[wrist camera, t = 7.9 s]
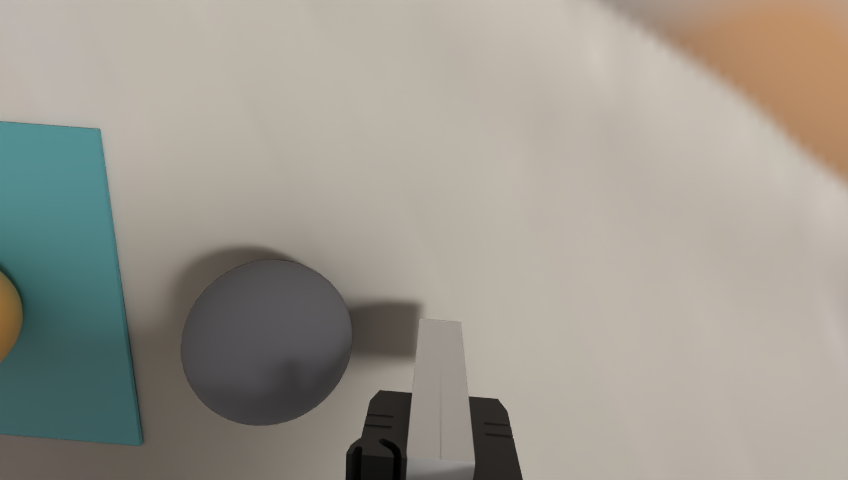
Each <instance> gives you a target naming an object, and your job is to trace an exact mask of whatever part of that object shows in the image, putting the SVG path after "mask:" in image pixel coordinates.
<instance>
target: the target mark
mask: <svg viewBox="0 0 848 480" xmlns="http://www.w3.org/2000/svg"><path fill="white" fill-rule="evenodd" d="M0 271H1V272H2V273H3V274H4V275H5V276H6V277H7V278H8V279H9V280H10V281H11V282H12V284H13V285H14V287H15V288H16V290H17V292H18V294H19V296H20V299H21V302H22V309H23V323H22V327H21V330H20V334H19V336H18V339H17V341H16V343H15V344H14V346H13V347H12V349H11V350H10V352H9V353H8V355H7V356H6V357H5V358H4V359H3V360H2V362H1V363H0V434H6V435H18V436H30V437H41V438H53V439H64V440H76V441H88V442H99V443H111V444H122V445H134V446H140V445H141V444H142V443H143V440H142V433H141V426H140V418H139V411H138V404H137V396H136V389H135V382H134V374H133V367H132V360H131V353H130V345H129V338H128V331H127V323H126V316H125V309H124V301H123V294H122V287H121V279H120V272H119V265H118V257H117V250H116V243H115V235H114V228H113V221H112V214H111V206H110V199H109V192H108V184H107V177H106V170H105V162H104V155H103V148H102V140H101V133H100V129H94V128H81V127H68V126H55V125H42V124H28V123H15V122H2V121H0Z"/></svg>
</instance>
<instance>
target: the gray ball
mask: <svg viewBox="0 0 848 480" xmlns="http://www.w3.org/2000/svg"><path fill="white" fill-rule="evenodd" d="M351 348H352V325H351V319H350V315H349V312H348V309H347V307H346V304H345V302H344V300H343V299H342V297H341V295H340V293H339V292H338V291H337V290H336V288H335V287H334V286H333V285H332V284H331V283H330V282H329V281H328V280H327V279H326V278H324V277H323V276H322V275H321V274H319V273H317V272H316V271H314V270H312V269H311V268H308V267H306V266H304V265H301V264H298V263H294V262H290V261H284V260H262V261H257V262H252V263H248V264H245V265H242V266H239V267H237V268H235V269H233V270H231V271H229V272H227V273H225V274H224V275H222V276H221V277H219V278H218V279H217V280H215V281H214V282H213V283H212V284H211V285H210V286H208V287H207V288H206V290H205V291H204V292H203V293H202V294H201V295H200V297H199V298H198V299H197V301H196V302H195V304H194V305H193V307H192V309H191V311H190V313H189V315H188V318H187V320H186V323H185V326H184V330H183V334H182V343H181V358H182V363H183V368H184V372H185V375H186V377H187V380H188V382H189V384H190V386H191V388H192V389H193V391H194V392H195V393H196V395H197V396H198V398H199V399H200V400H201V401H202V402H203V403H204V404H205V405H206V406H207V407H208V408H210V409H211V410H212V411H214V412H215V413H217V414H218V415H220V416H222V417H224V418H226V419H228V420H231V421H234V422H237V423H242V424H246V425H256V426H261V425H273V424H278V423H283V422H287V421H290V420H293V419H295V418H298V417H300V416H302V415H304V414H305V413H307V412H309V411H310V410H312V409H313V408H315V407H316V406H318V405H319V404H320V403H321V402H322V401H323V400H324V399H325V398H326V397H327V396H328V395H329V394H330V393H331V392H332V391H333V390H334V388H335V387H336V385H337V384H338V383H339V381H340V379H341V377H342V375H343V373H344V371H345V369H346V367H347V364H348V361H349V358H350V353H351Z"/></svg>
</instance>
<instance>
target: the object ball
mask: <svg viewBox="0 0 848 480" xmlns="http://www.w3.org/2000/svg"><path fill="white" fill-rule="evenodd" d="M22 323H23V309H22V302H21V299H20V296H19V294H18V292H17V290H16V288H15V287H14V285H13V284H12V282H11V281H10V280H9V279H8V278H7V277H6V276H5V275H4V274H3V273H2V272H1V271H0V363H1V362H2V360H3V359H4V358H5V357H6V356H7V355H8V353H9V352H10V350H11V349H12V347H13V346H14V344H15V343H16V341H17V339H18V336H19V334H20V330H21V327H22Z"/></svg>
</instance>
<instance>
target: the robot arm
mask: <svg viewBox="0 0 848 480" xmlns="http://www.w3.org/2000/svg"><path fill="white" fill-rule="evenodd" d="M346 480H523V479H522V474H521V470H520V466H519V461H518V457H517V452H516V448H515V443H514V439H513V435H512V430H511V427H510V421H509V417H508V413H507V410H506V409H505V408H504V406H503V405H502V404H501V403H500V401H499V400H498V399H492V398H481V397H469V396H468V387H467V377H466V367H465V358H464V348H463V338H462V328H461V322H455V321H443V320H431V319H420V320H419V330H418V340H417V351H416V361H415V371H414V381H413V391H412V393H407V392H395V391H383V390H380V391H379V392H378V393H377V394H376V395H375V396H374V397H373V398H372V399H371V400H370V403H369V407H368V412H367V416H366V420H365V424H364V428H363V432H362V436H361V438H359V439H358V440H357V441H355V442H354V443H353V444H352V445H351V446H350V448H349V450H348V451H347V453H346Z"/></svg>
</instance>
